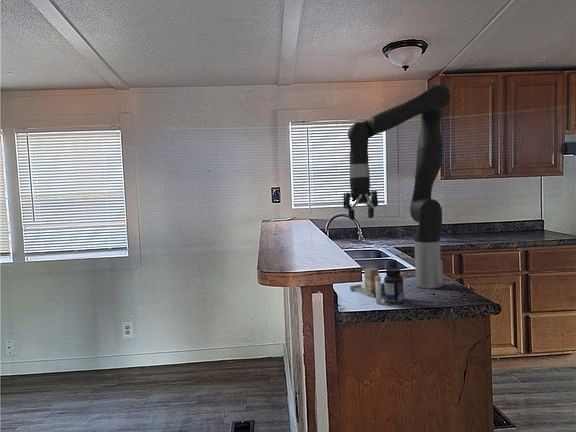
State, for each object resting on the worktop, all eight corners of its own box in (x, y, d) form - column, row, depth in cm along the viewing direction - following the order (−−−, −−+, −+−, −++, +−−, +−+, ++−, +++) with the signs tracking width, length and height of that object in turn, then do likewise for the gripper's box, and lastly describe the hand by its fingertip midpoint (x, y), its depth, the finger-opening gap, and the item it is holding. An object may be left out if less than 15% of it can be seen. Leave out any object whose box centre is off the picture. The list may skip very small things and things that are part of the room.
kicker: (377, 288, 164) (376, 267, 164) (397, 294, 154) (396, 271, 154) (359, 291, 161) (358, 269, 161) (378, 297, 151) (377, 274, 150)
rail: (360, 289, 172) (359, 284, 172) (382, 296, 159) (382, 291, 159) (350, 290, 170) (350, 286, 170) (372, 297, 157) (372, 292, 157)
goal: (403, 298, 155) (402, 271, 154) (407, 299, 153) (406, 272, 152) (374, 303, 150) (373, 275, 149) (378, 304, 148) (377, 276, 147)
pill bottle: (400, 299, 153) (399, 267, 153) (406, 304, 147) (405, 270, 146) (382, 300, 153) (381, 268, 152) (387, 305, 147) (386, 271, 146)
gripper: (369, 176, 177) (370, 217, 178) (338, 177, 171) (340, 220, 172) (380, 175, 171) (382, 217, 172) (349, 176, 164) (351, 220, 165)
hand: (361, 218), depth 172 cm, fingers open, 8 cm apart
